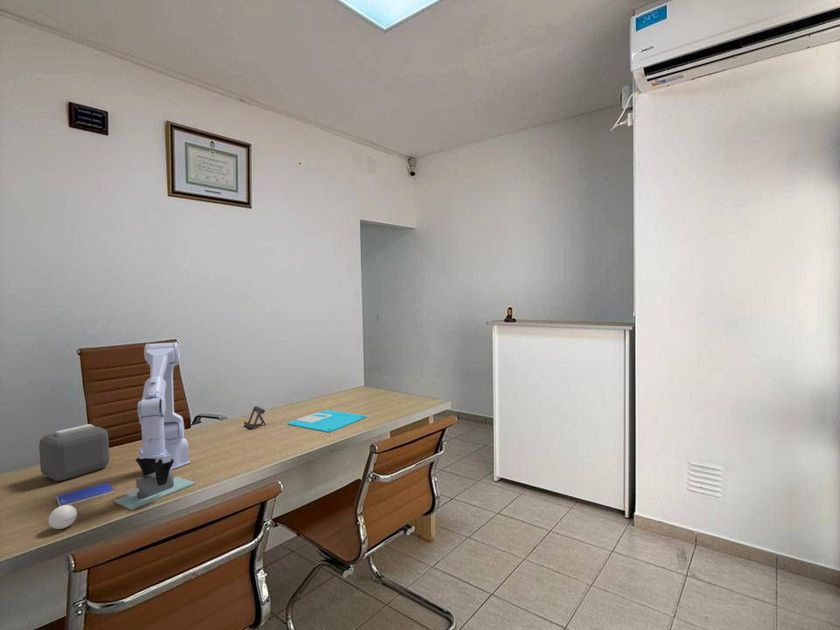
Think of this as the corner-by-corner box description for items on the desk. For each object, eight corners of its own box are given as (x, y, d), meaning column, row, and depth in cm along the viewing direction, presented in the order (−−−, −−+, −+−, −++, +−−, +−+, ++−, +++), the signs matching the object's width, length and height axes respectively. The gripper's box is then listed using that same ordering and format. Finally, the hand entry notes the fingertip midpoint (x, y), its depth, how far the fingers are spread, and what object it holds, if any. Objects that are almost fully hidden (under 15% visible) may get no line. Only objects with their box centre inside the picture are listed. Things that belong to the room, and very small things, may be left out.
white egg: (56, 535, 102) (54, 513, 102) (44, 531, 105) (43, 509, 105) (91, 520, 109) (90, 499, 109) (79, 516, 112) (78, 496, 112)
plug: (169, 483, 130) (168, 467, 130) (176, 485, 128) (175, 470, 127) (125, 500, 119) (124, 483, 119) (131, 503, 117) (130, 485, 117)
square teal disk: (329, 433, 178) (329, 431, 178) (285, 425, 193) (285, 423, 193) (367, 418, 200) (367, 416, 200) (325, 411, 215) (325, 409, 215)
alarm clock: (98, 461, 152) (96, 420, 152) (113, 467, 146) (110, 424, 146) (41, 478, 138) (38, 432, 138) (54, 485, 132) (51, 437, 132)
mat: (177, 478, 135) (177, 476, 135) (195, 484, 130) (194, 482, 130) (114, 502, 119) (114, 500, 119) (131, 510, 114) (131, 508, 114)
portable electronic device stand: (243, 426, 192) (243, 408, 192) (260, 422, 197) (260, 405, 197) (250, 430, 186) (249, 411, 185) (267, 426, 191) (267, 408, 191)
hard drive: (60, 504, 117) (113, 489, 126) (56, 495, 123) (108, 481, 132) (60, 509, 117) (113, 494, 126) (56, 500, 123) (108, 486, 132)
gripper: (126, 437, 124) (129, 482, 125) (151, 445, 117) (153, 492, 117) (152, 431, 130) (154, 473, 131) (176, 438, 123) (179, 482, 123)
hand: (155, 481), depth 124 cm, fingers open, 7 cm apart
